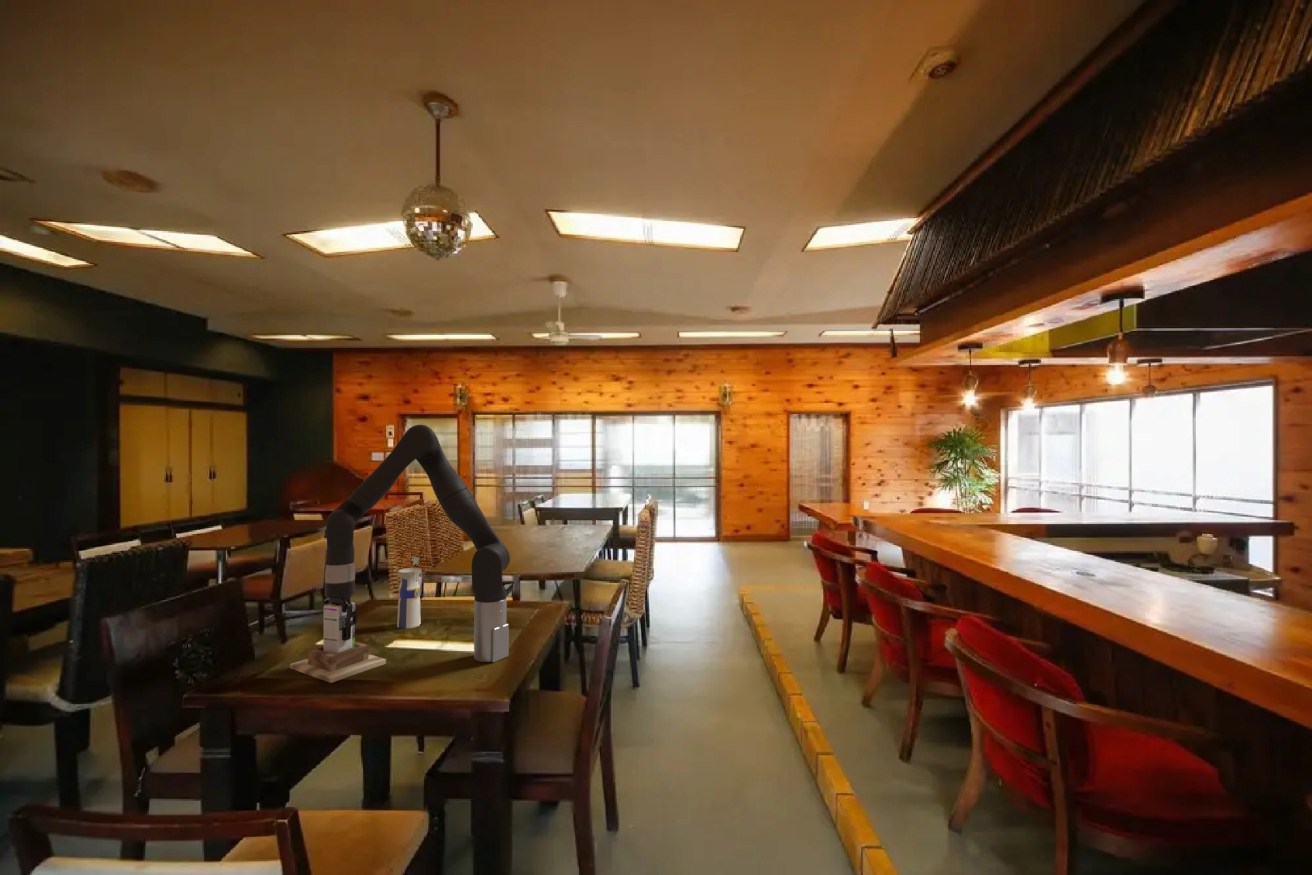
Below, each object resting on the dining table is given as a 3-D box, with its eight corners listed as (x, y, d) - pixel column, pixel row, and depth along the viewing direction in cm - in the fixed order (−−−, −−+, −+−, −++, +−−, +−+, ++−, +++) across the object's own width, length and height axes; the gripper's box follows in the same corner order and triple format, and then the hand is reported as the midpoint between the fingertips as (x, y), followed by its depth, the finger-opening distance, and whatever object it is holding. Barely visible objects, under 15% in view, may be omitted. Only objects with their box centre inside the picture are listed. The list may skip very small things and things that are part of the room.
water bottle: (427, 622, 204) (428, 552, 205) (412, 629, 196) (413, 556, 197) (407, 620, 206) (408, 551, 207) (391, 627, 198) (392, 555, 198)
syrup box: (337, 659, 159) (338, 606, 160) (322, 656, 161) (323, 604, 162) (355, 652, 165) (355, 601, 165) (339, 649, 167) (340, 599, 167)
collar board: (386, 663, 165) (386, 645, 165) (330, 682, 151) (331, 663, 151) (345, 651, 175) (345, 634, 175) (290, 668, 161) (290, 649, 161)
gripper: (367, 579, 163) (366, 638, 163) (338, 573, 170) (337, 630, 170) (341, 584, 157) (341, 646, 156) (312, 578, 164) (311, 637, 164)
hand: (339, 637), depth 163 cm, fingers closed on syrup box, 6 cm apart
